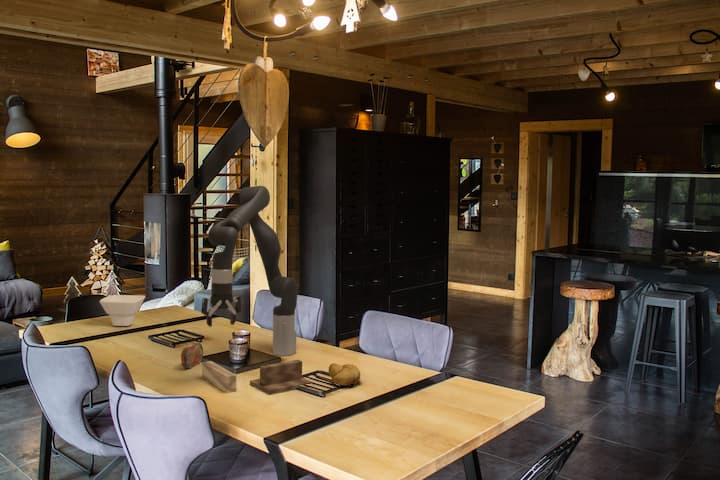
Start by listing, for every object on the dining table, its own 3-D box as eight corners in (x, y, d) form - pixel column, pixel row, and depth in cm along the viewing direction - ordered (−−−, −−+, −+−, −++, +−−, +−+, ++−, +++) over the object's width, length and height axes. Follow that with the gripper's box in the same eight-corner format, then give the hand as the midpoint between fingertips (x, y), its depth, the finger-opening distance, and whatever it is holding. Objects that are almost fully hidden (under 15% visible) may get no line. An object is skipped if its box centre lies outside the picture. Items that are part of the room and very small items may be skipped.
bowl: (135, 330, 324) (135, 302, 322) (96, 329, 324) (95, 301, 323) (148, 322, 342) (148, 295, 341) (111, 321, 342) (110, 294, 341)
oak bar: (210, 376, 251) (210, 360, 251) (236, 391, 234) (236, 375, 233) (201, 377, 249) (201, 362, 249) (227, 393, 232) (227, 376, 231)
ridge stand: (292, 376, 253) (292, 356, 252) (312, 385, 242) (312, 364, 241) (249, 384, 242) (250, 363, 241) (269, 394, 230) (269, 372, 230)
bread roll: (351, 377, 253) (352, 357, 252) (369, 383, 246) (369, 362, 245) (325, 384, 244) (325, 362, 244) (342, 390, 237) (343, 368, 237)
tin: (187, 371, 257) (187, 349, 256) (179, 370, 258) (179, 349, 257) (203, 361, 272) (203, 340, 271) (196, 360, 272) (196, 340, 272)
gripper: (236, 279, 248) (235, 322, 249) (199, 280, 241) (198, 324, 242) (244, 281, 242) (243, 325, 243) (206, 283, 235) (205, 328, 235)
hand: (221, 325), depth 242 cm, fingers open, 8 cm apart
